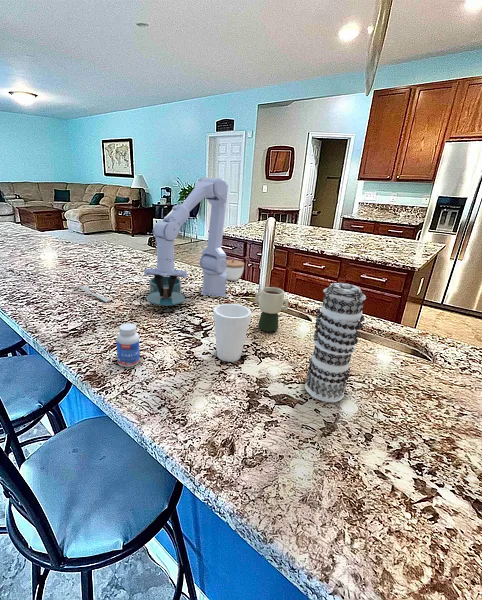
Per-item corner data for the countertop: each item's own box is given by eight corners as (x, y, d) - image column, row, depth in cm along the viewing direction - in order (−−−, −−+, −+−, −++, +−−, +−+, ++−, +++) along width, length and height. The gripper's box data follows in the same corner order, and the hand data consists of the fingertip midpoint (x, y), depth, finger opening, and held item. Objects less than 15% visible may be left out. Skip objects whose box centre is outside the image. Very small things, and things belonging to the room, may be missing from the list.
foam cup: (249, 350, 88) (254, 307, 84) (242, 368, 80) (246, 320, 75) (217, 344, 91) (219, 301, 86) (206, 360, 83) (208, 314, 78)
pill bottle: (120, 369, 77) (118, 333, 74) (115, 358, 82) (113, 323, 78) (142, 364, 80) (141, 329, 76) (136, 354, 84) (135, 320, 80)
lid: (187, 295, 119) (187, 283, 117) (181, 308, 106) (181, 295, 105) (152, 292, 119) (151, 280, 118) (142, 305, 107) (142, 293, 106)
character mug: (288, 330, 102) (294, 291, 97) (279, 338, 96) (284, 298, 91) (257, 320, 107) (261, 283, 103) (247, 327, 102) (251, 289, 97)
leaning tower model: (341, 409, 67) (368, 298, 58) (298, 393, 72) (316, 287, 63) (349, 387, 75) (374, 285, 66) (309, 374, 79) (327, 276, 70)
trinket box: (241, 283, 145) (243, 262, 142) (218, 280, 147) (219, 260, 143) (244, 276, 155) (245, 257, 151) (222, 274, 157) (223, 255, 153)
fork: (105, 309, 116) (105, 302, 115) (72, 289, 127) (72, 283, 126) (112, 306, 119) (112, 300, 117) (79, 288, 129) (78, 281, 128)
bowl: (183, 290, 133) (183, 277, 131) (178, 300, 121) (178, 286, 119) (153, 288, 133) (153, 275, 131) (146, 298, 122) (145, 284, 120)
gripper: (141, 259, 104) (142, 298, 109) (185, 262, 103) (184, 301, 108) (146, 254, 111) (147, 291, 116) (188, 257, 110) (187, 294, 115)
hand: (165, 295), depth 112 cm, fingers closed on lid, 2 cm apart
